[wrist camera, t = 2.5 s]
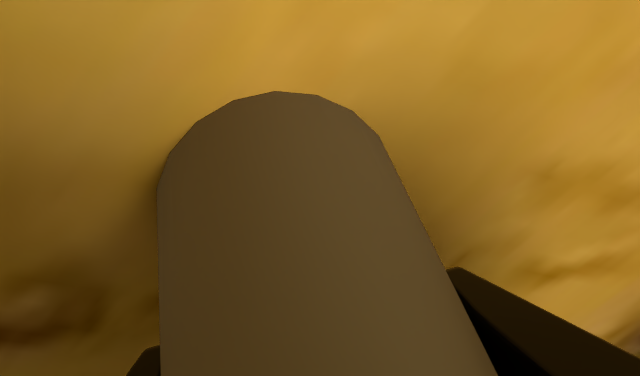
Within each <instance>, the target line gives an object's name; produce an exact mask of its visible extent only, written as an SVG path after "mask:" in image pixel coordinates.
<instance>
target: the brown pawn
mask: <svg viewBox="0 0 640 376" xmlns="http://www.w3.org/2000/svg"><path fill="white" fill-rule="evenodd" d="M157 234H158V279H159V323H160V364H161V376H498V375H497V373H496V371H495V369H494V367H493V365H492V363H491V361H490V359H489V356H488V354H487V352H486V350H485V348H484V346H483V344H482V342H481V340H480V338H479V336H478V334H477V332H476V330H475V328H474V326H473V324H472V322H471V320H470V318H469V316H468V314H467V312H466V310H465V308H464V306H463V304H462V302H461V300H460V298H459V296H458V294H457V292H456V290H455V288H454V286H453V284H452V282H451V280H450V278H449V276H448V274H447V272H446V270H445V268H444V266H443V264H442V262H441V260H440V258H439V256H438V254H437V252H436V250H435V248H434V246H433V244H432V242H431V240H430V238H429V236H428V234H427V232H426V230H425V228H424V226H423V224H422V222H421V220H420V218H419V216H418V214H417V212H416V210H415V208H414V206H413V204H412V202H411V200H410V198H409V196H408V194H407V192H406V190H405V188H404V186H403V184H402V182H401V180H400V178H399V176H398V174H397V172H396V170H395V168H394V166H393V164H392V162H391V160H390V158H389V156H388V154H387V152H386V150H385V148H384V146H383V144H382V142H381V140H380V138H379V136H378V135H377V134H376V133H375V132H374V131H373V130H372V129H371V128H370V127H369V126H368V125H367V124H366V123H365V122H364V121H363V120H362V119H361V118H360V117H358V116H357V115H356V114H355V113H354V112H353V111H352V110H350V109H347V108H345V107H343V106H341V105H338V104H336V103H334V102H331V101H329V100H327V99H325V98H322V97H320V96H318V95H311V94H300V93H289V92H279V91H274V92H269V93H265V94H260V95H256V96H251V97H247V98H242V99H238V100H234V101H232V102H230V103H228V104H226V105H225V106H223V107H221V108H220V109H218V110H216V111H215V112H213V113H211V114H209V115H208V116H206V117H204V118H203V119H201V120H199V121H198V122H196V123H195V124H194V126H193V127H192V128H191V129H190V130H189V131H188V133H187V134H186V135H185V136H184V137H183V138H182V139H181V141H180V142H179V143H178V144H177V145H176V146H175V148H174V149H173V150H172V151H171V152H170V154H169V157H168V159H167V162H166V165H165V167H164V170H163V173H162V175H161V178H160V181H159V183H158V186H157Z"/></svg>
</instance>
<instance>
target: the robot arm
mask: <svg viewBox="0 0 640 376" xmlns="http://www.w3.org/2000/svg"><path fill="white" fill-rule="evenodd" d="M446 272H447V274H448V276H449V278H450V280H451V282H452V284H453V286H454V288H455V290H456V292H457V294H458V296H459V298H460V300H461V302H462V304H463V306H464V308H465V310H466V312H467V314H468V316H469V318H470V320H471V322H472V324H473V326H474V328H475V330H476V332H477V334H478V336H479V338H480V340H481V342H482V344H483V346H484V348H485V350H486V352H487V354H488V356H489V359H490V361H491V363H492V365H493V367H494V369H495V371H496V373H497V375H498V376H640V358H638V357H636V356H634V355H632V354H630V353H628V352H626V351H624V350H623V349H621V348H619V347H617V346H615V345H613V344H611V343H609V342H607V341H605V340H603V339H601V338H599V337H597V336H595V335H593V334H591V333H589V332H587V331H585V330H583V329H581V328H579V327H577V326H575V325H573V324H571V323H569V322H567V321H565V320H564V319H562V318H560V317H558V316H556V315H554V314H552V313H550V312H548V311H546V310H544V309H542V308H540V307H538V306H536V305H534V304H532V303H530V302H528V301H526V300H524V299H522V298H520V297H518V296H516V295H514V294H512V293H510V292H508V291H506V290H505V289H503V288H501V287H499V286H497V285H495V284H493V283H491V282H489V281H487V280H485V279H483V278H481V277H479V276H477V275H475V274H473V273H471V272H469V271H467V270H465V269H463V268H460V267H454V268H450V269H447V270H446ZM126 376H161V364H160V345H158V346H155V347H151V348H148V349H146V350H145V351H144V352H143V353H142V354H141V356H140V357H139V358H138V360H137V361H136V362H135V364H134V365H133V367H132V368H131V369H130V371H129V372H128V374H127V375H126Z"/></svg>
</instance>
